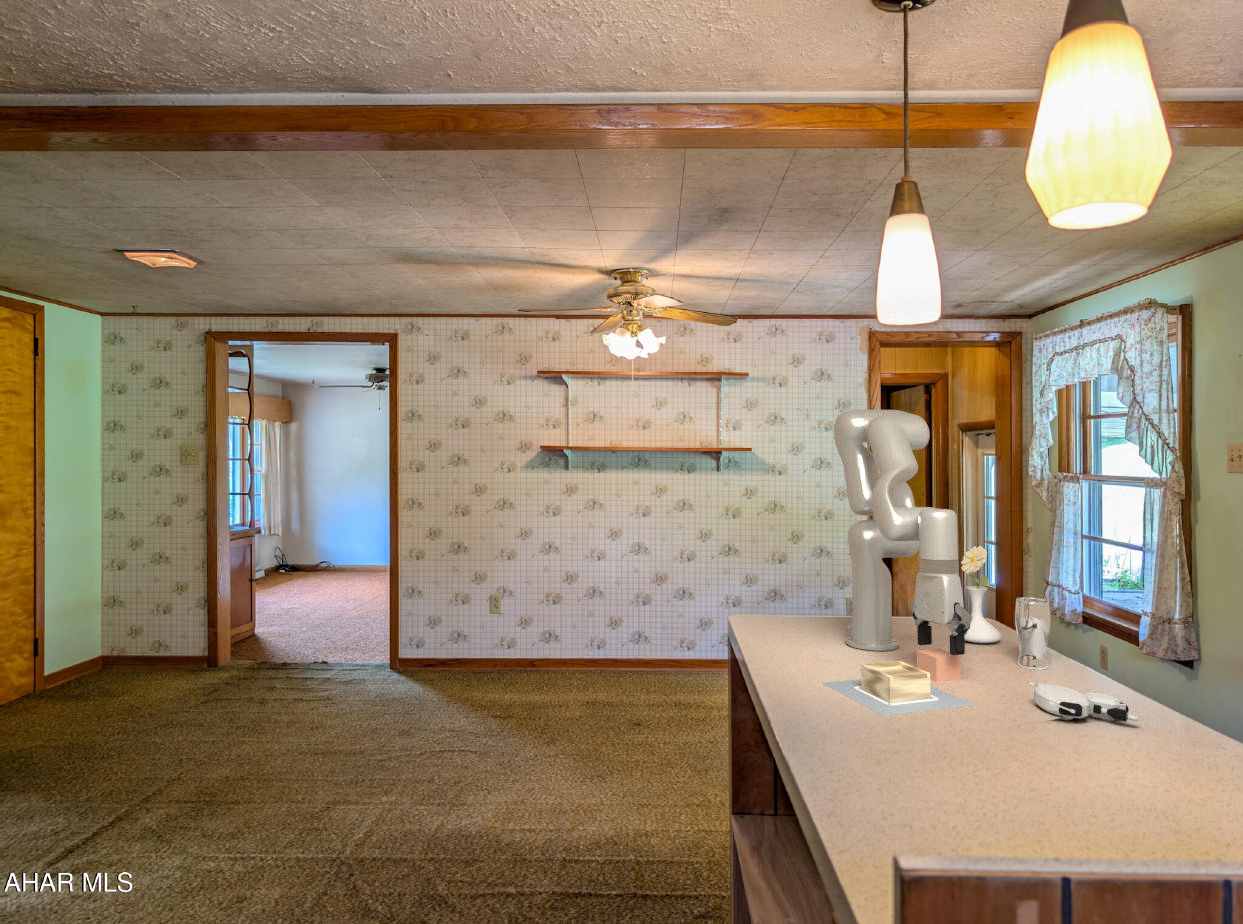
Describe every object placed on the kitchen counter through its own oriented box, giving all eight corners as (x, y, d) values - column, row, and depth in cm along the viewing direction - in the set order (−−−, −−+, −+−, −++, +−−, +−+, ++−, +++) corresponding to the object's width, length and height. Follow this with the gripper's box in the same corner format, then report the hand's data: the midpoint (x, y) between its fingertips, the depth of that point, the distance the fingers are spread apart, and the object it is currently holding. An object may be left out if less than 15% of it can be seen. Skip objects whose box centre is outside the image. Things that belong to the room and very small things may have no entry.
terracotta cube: (917, 678, 155) (916, 650, 155) (940, 676, 156) (940, 648, 156) (936, 686, 149) (936, 657, 149) (960, 684, 151) (960, 655, 151)
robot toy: (1113, 713, 135) (1024, 701, 139) (1115, 689, 135) (1026, 677, 139) (1142, 737, 124) (1044, 723, 127) (1144, 711, 123) (1046, 697, 127)
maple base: (861, 688, 144) (861, 664, 144) (899, 684, 147) (899, 660, 147) (890, 702, 136) (890, 677, 136) (930, 698, 138) (930, 673, 138)
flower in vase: (947, 634, 193) (947, 541, 193) (994, 636, 191) (993, 542, 191) (960, 647, 181) (959, 547, 181) (1010, 649, 178) (1009, 547, 178)
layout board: (822, 687, 148) (822, 682, 148) (905, 679, 154) (905, 674, 154) (883, 721, 129) (883, 714, 129) (975, 709, 135) (975, 704, 135)
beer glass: (1041, 662, 166) (1041, 597, 166) (1056, 670, 160) (1056, 603, 160) (1010, 661, 167) (1009, 596, 167) (1023, 670, 160) (1023, 602, 160)
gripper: (897, 564, 160) (898, 642, 159) (953, 572, 143) (955, 660, 142) (925, 563, 162) (927, 640, 161) (984, 571, 145) (986, 657, 145)
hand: (940, 649), depth 152 cm, fingers open, 9 cm apart
